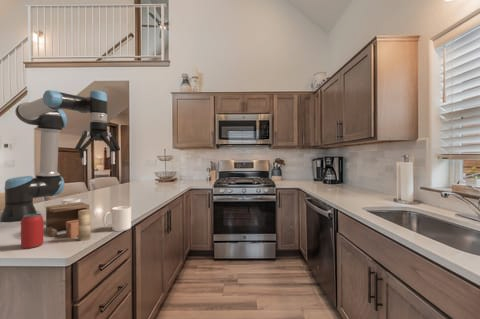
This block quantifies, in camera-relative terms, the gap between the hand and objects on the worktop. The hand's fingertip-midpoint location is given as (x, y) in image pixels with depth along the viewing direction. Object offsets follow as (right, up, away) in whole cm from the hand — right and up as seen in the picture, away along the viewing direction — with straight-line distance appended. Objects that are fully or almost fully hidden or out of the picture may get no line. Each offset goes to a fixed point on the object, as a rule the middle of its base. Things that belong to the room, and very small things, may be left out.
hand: (99, 164), depth 123 cm
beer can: (-9, -31, -29) cm, 43 cm away
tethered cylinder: (+2, -31, -18) cm, 36 cm away
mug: (-18, -31, +4) cm, 36 cm away
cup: (+13, -31, -8) cm, 34 cm away
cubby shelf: (-9, -31, -9) cm, 33 cm away
